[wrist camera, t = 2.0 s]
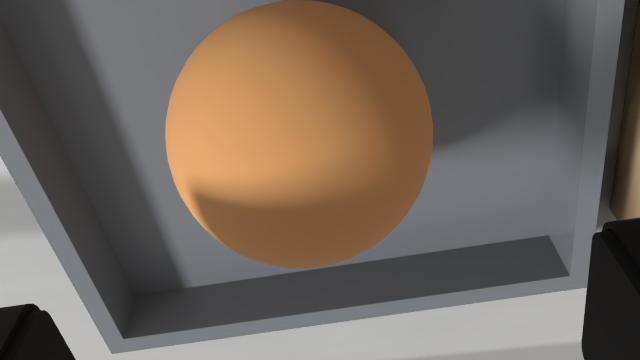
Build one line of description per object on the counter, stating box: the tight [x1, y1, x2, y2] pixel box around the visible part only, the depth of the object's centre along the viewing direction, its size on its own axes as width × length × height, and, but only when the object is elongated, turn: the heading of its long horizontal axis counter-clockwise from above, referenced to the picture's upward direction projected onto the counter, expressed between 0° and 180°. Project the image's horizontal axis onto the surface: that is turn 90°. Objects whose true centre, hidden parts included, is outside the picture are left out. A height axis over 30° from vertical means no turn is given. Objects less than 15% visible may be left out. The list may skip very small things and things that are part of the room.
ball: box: [165, 0, 433, 268], centre depth 14 cm, size 6×6×6 cm
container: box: [0, 0, 625, 354], centre depth 16 cm, size 15×15×2 cm
